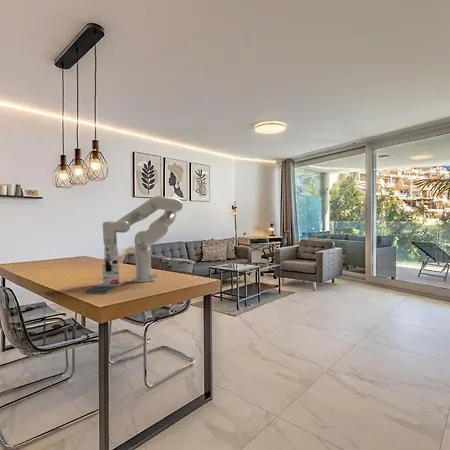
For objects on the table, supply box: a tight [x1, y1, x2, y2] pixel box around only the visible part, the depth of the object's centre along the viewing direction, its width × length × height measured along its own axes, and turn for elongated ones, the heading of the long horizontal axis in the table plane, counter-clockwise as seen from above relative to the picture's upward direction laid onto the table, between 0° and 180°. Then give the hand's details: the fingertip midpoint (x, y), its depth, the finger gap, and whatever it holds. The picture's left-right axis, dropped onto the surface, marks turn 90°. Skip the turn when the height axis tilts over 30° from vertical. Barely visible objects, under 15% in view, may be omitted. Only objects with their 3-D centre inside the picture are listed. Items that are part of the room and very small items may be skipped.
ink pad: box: [84, 285, 117, 295], centre depth 164 cm, size 12×12×2 cm
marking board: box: [93, 280, 127, 287], centre depth 182 cm, size 15×13×1 cm
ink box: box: [102, 263, 120, 284], centre depth 182 cm, size 8×5×12 cm, turn 93°
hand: (112, 269), depth 182 cm, fingers open, 9 cm apart
